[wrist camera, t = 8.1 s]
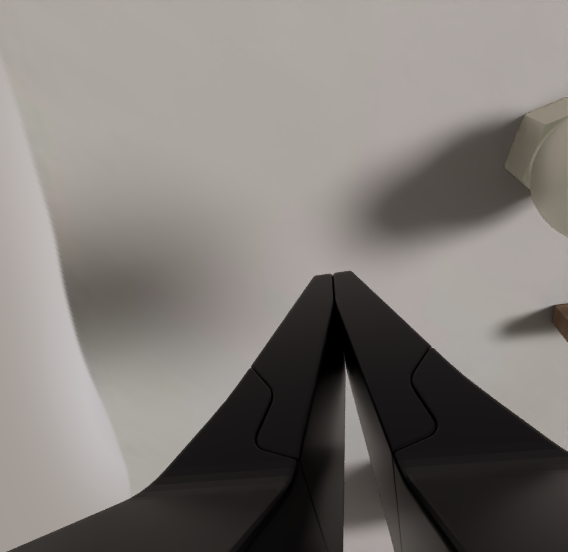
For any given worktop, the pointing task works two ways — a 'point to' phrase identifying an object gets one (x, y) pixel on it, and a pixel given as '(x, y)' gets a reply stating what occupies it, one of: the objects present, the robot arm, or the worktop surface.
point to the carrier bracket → (561, 319)
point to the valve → (544, 161)
